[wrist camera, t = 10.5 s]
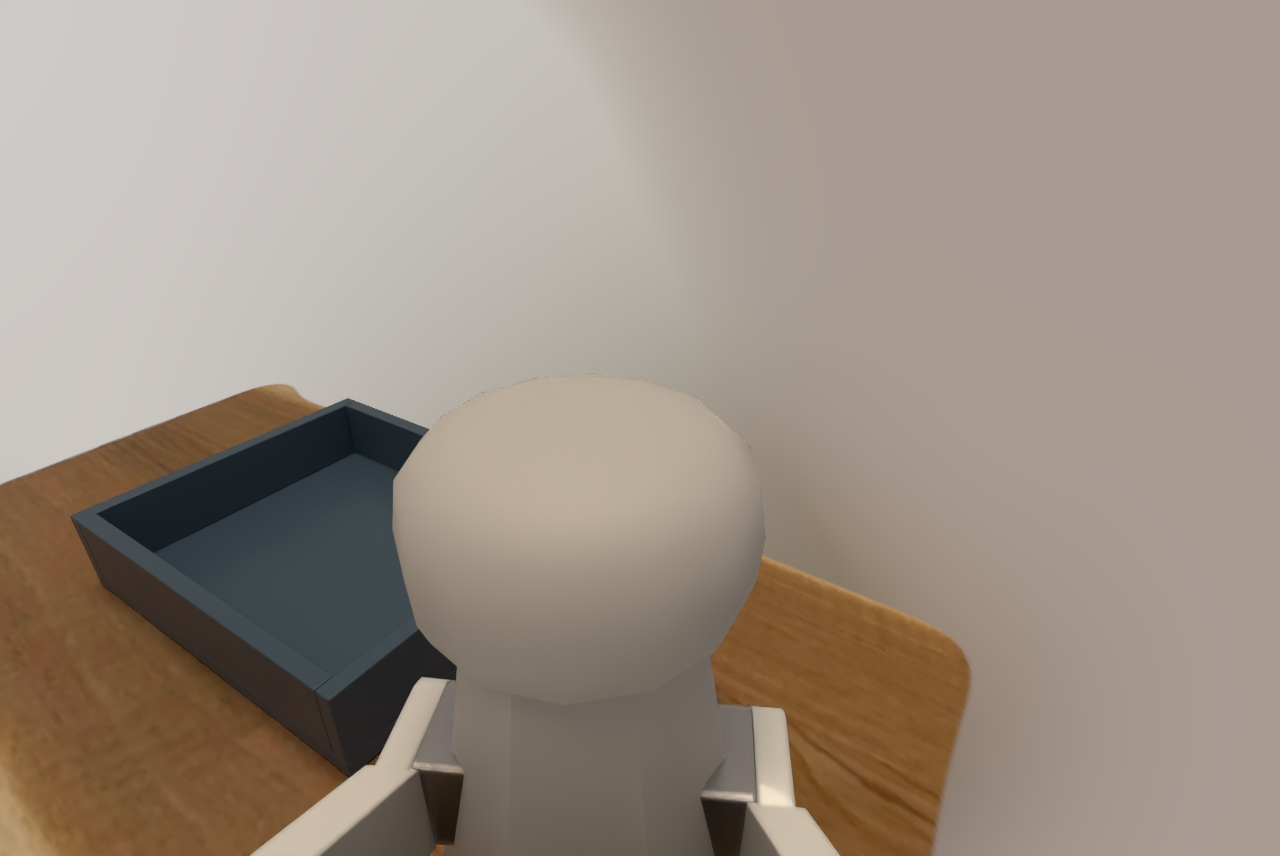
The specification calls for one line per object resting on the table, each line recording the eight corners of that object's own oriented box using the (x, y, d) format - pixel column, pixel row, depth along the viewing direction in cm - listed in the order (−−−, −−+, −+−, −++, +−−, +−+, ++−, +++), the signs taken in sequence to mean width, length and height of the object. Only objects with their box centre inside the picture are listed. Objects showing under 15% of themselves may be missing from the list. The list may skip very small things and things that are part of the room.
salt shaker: (800, 972, 14) (936, 411, 8) (613, 1319, 10) (595, 747, 4) (594, 797, 17) (576, 305, 11) (395, 1006, 13) (198, 430, 7)
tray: (593, 556, 37) (592, 490, 35) (351, 779, 25) (328, 700, 23) (359, 454, 46) (347, 397, 44) (101, 584, 34) (69, 515, 32)
